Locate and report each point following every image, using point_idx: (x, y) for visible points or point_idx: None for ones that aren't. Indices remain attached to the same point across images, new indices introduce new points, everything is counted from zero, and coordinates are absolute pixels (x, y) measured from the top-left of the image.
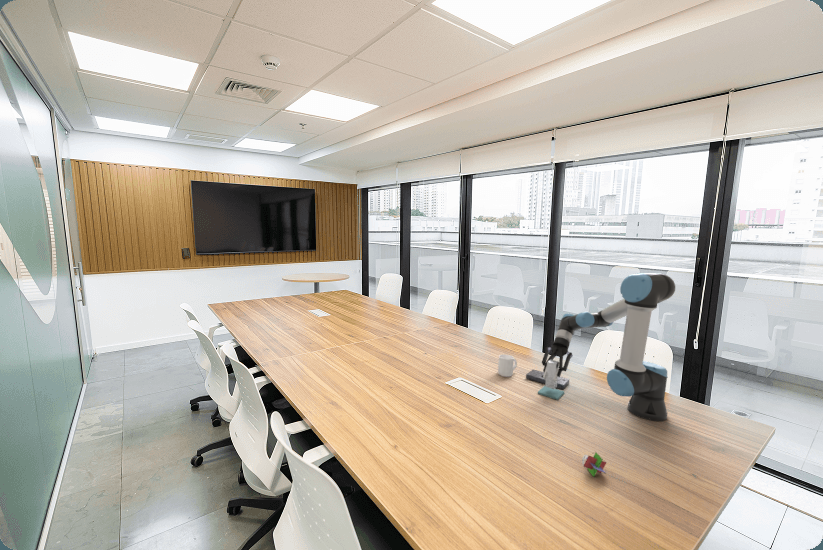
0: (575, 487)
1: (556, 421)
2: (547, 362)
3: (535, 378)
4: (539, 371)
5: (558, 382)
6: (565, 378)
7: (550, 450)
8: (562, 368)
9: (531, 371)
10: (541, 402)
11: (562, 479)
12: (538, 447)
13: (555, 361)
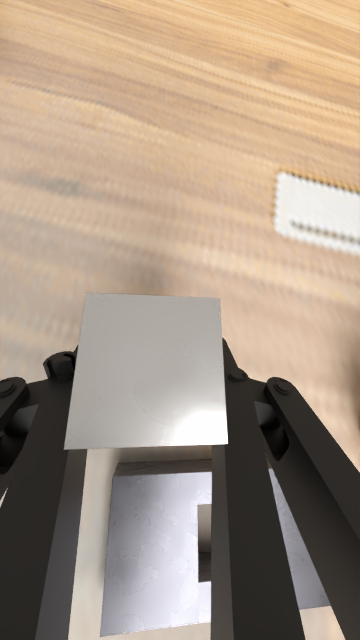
0: (10, 8)
1: (84, 178)
2: (213, 299)
3: (268, 464)
4: (300, 598)
5: (147, 492)
6: (126, 623)
7: (71, 70)
8: (40, 391)
9: None
10: (160, 265)
11: (34, 16)
12: (97, 70)
13: (125, 413)
